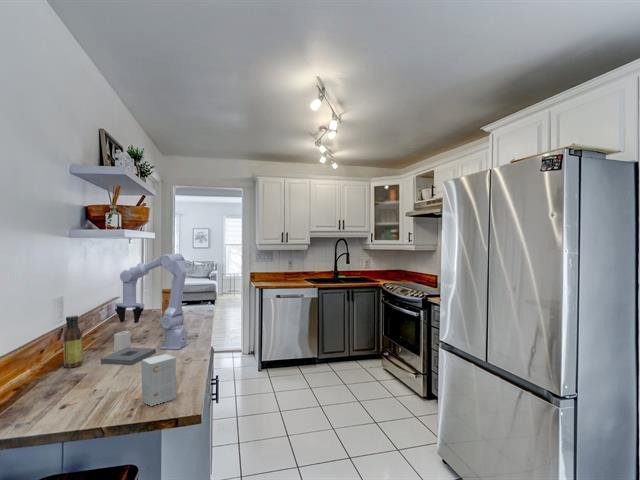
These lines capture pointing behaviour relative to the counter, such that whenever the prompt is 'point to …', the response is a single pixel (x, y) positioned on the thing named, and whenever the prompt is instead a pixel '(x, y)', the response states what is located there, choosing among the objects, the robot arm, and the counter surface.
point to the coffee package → (165, 299)
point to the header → (128, 356)
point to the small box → (158, 379)
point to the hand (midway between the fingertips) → (129, 322)
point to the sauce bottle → (72, 343)
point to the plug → (121, 340)
